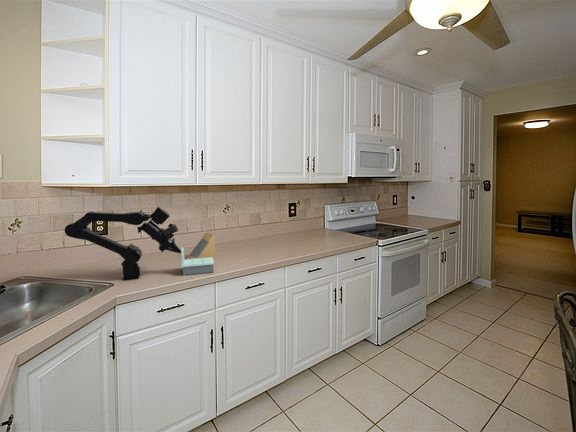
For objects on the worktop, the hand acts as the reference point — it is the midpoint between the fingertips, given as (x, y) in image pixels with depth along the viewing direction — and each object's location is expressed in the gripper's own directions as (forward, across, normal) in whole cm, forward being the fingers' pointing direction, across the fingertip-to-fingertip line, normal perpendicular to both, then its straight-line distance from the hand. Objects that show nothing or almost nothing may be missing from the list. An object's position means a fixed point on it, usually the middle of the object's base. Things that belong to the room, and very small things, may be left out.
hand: (180, 252), depth 143 cm
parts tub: (+13, 0, +2) cm, 13 cm away
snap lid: (+10, 0, -1) cm, 10 cm away
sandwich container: (+14, +18, +2) cm, 23 cm away
